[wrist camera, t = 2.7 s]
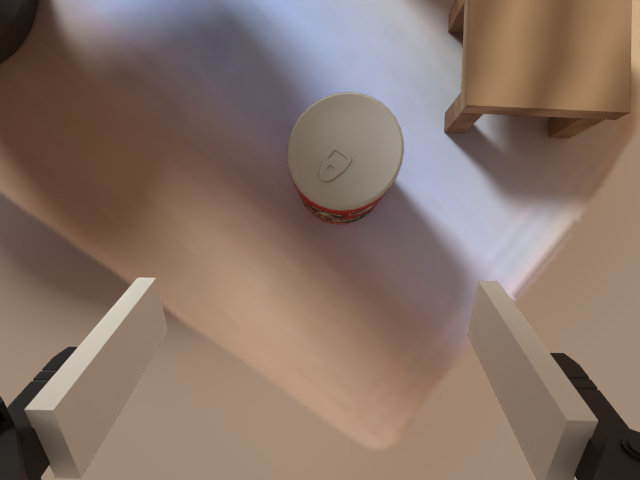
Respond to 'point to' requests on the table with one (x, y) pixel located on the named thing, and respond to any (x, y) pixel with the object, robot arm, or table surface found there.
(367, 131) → the canned food
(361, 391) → the table surface
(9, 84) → the table surface
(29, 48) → the table surface
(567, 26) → the stool
